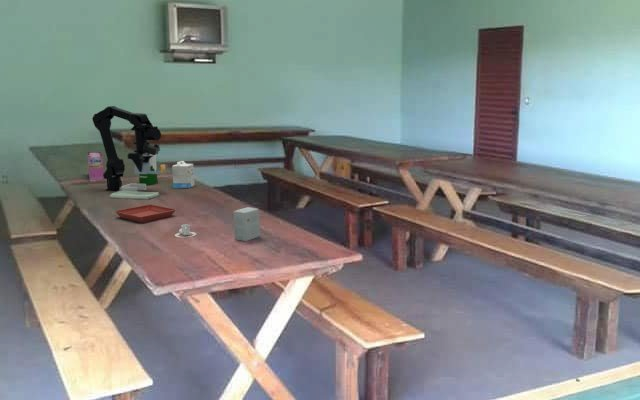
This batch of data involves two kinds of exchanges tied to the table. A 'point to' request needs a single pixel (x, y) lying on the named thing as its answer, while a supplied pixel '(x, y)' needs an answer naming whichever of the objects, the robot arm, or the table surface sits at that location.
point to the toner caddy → (147, 169)
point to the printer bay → (133, 187)
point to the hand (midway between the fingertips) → (143, 171)
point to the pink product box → (95, 166)
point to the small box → (246, 224)
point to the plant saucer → (145, 213)
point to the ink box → (183, 175)
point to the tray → (134, 195)
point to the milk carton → (149, 178)
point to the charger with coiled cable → (185, 231)
